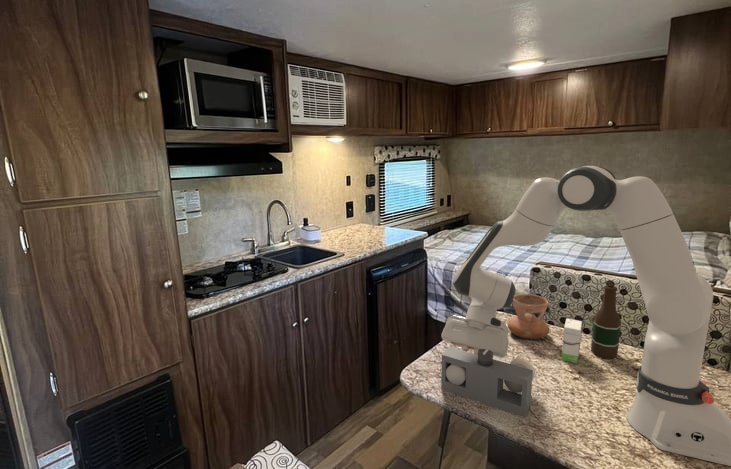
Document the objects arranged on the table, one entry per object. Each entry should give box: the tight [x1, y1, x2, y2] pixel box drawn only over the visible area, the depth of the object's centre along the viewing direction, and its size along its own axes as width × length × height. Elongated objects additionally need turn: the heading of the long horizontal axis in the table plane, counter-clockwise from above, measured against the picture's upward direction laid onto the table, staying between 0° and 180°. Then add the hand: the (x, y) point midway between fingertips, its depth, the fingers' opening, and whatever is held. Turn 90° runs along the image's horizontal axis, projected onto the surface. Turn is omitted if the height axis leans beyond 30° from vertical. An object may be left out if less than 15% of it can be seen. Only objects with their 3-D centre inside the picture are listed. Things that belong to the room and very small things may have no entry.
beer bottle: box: [590, 284, 622, 360], centre depth 130 cm, size 8×8×24 cm
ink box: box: [561, 318, 583, 364], centre depth 130 cm, size 9×5×12 cm, turn 149°
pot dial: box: [478, 349, 494, 366], centre depth 107 cm, size 4×4×3 cm
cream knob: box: [503, 357, 536, 394], centre depth 110 cm, size 7×8×7 cm
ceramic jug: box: [507, 293, 550, 340], centre depth 147 cm, size 18×14×14 cm
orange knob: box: [446, 364, 466, 385], centre depth 114 cm, size 7×8×7 cm
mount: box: [440, 346, 533, 419], centre depth 109 cm, size 24×6×11 cm, turn 55°
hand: (467, 362), depth 118 cm, fingers closed
